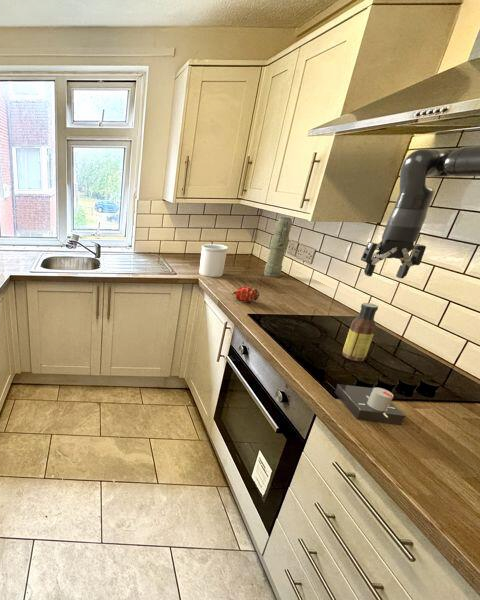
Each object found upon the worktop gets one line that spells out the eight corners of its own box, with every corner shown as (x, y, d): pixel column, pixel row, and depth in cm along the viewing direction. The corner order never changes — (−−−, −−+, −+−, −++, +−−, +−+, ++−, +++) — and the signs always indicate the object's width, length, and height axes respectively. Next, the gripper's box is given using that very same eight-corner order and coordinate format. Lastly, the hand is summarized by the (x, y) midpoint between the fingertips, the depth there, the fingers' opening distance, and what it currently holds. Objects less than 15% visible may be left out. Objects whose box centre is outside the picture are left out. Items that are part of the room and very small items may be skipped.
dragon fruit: (259, 306, 154) (232, 306, 159) (258, 292, 159) (231, 292, 163) (261, 297, 148) (233, 297, 152) (260, 282, 152) (232, 282, 156)
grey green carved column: (266, 277, 191) (280, 219, 178) (261, 272, 202) (274, 216, 189) (282, 278, 189) (298, 219, 176) (276, 273, 200) (290, 216, 187)
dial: (363, 402, 84) (369, 388, 82) (373, 399, 85) (379, 385, 83) (380, 413, 80) (387, 397, 78) (390, 409, 81) (398, 394, 79)
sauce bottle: (366, 358, 109) (388, 306, 101) (360, 364, 105) (382, 310, 98) (344, 350, 114) (363, 300, 106) (337, 355, 110) (356, 304, 103)
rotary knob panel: (373, 397, 90) (377, 388, 89) (405, 429, 79) (410, 420, 78) (334, 392, 92) (337, 383, 91) (360, 423, 81) (364, 414, 80)
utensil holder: (193, 273, 198) (197, 246, 192) (204, 269, 208) (209, 242, 201) (216, 279, 188) (221, 250, 182) (227, 274, 198) (232, 246, 191)
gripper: (384, 225, 90) (365, 278, 96) (444, 227, 88) (419, 282, 94) (368, 221, 97) (350, 271, 103) (423, 223, 94) (401, 274, 101)
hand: (383, 276), depth 99 cm, fingers open, 8 cm apart
